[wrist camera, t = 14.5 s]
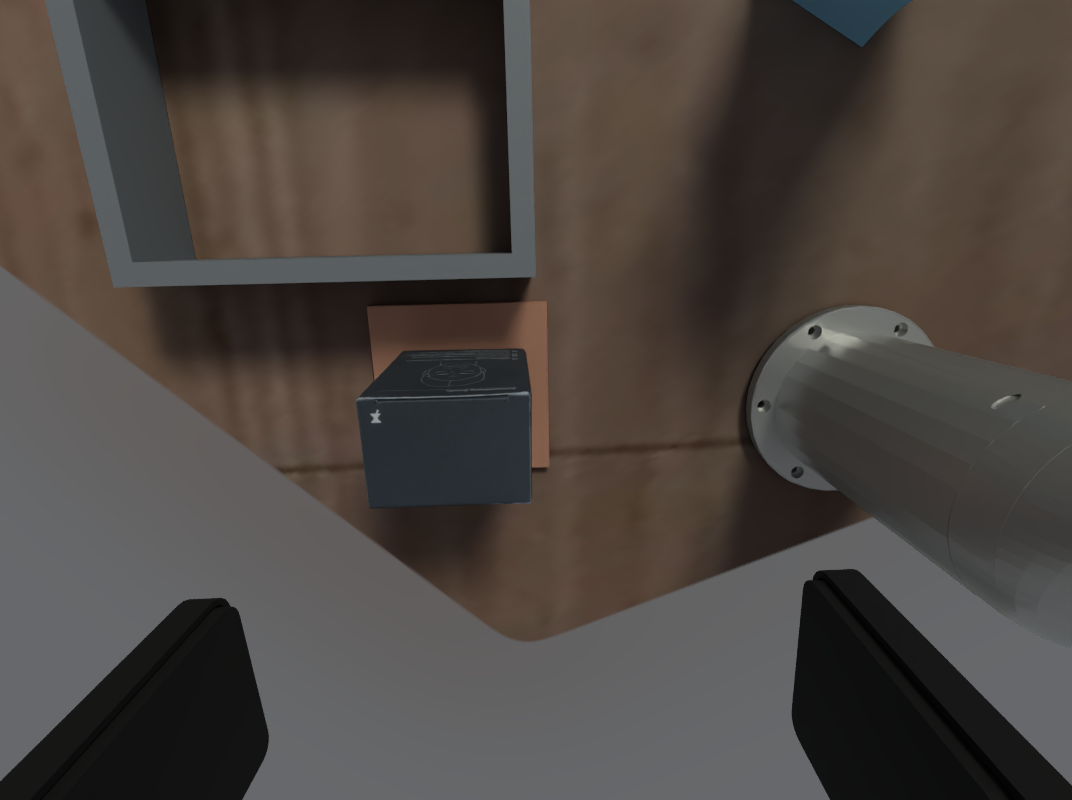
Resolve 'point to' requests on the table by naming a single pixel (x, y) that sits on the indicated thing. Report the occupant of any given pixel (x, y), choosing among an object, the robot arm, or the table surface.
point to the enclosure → (154, 183)
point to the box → (448, 429)
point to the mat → (470, 343)
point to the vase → (854, 15)
